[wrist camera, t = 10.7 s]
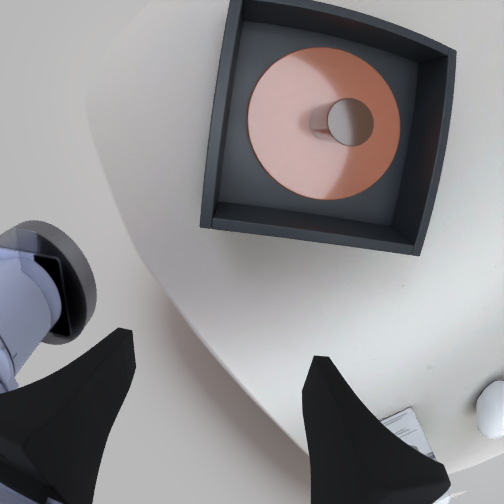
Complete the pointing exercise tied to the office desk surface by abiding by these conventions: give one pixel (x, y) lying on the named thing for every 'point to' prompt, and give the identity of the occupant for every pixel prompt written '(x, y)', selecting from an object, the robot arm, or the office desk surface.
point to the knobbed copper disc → (323, 123)
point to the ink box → (412, 437)
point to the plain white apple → (491, 411)
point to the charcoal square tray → (373, 198)
